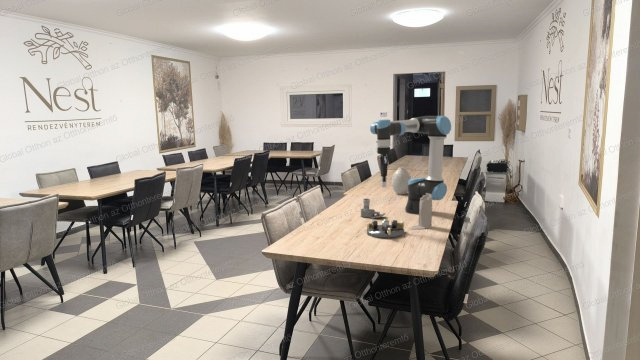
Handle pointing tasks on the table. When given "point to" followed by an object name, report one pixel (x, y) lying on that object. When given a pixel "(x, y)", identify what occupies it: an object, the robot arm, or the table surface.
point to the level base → (381, 231)
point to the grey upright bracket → (425, 212)
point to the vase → (400, 181)
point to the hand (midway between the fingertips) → (383, 187)
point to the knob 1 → (372, 225)
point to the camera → (369, 211)
